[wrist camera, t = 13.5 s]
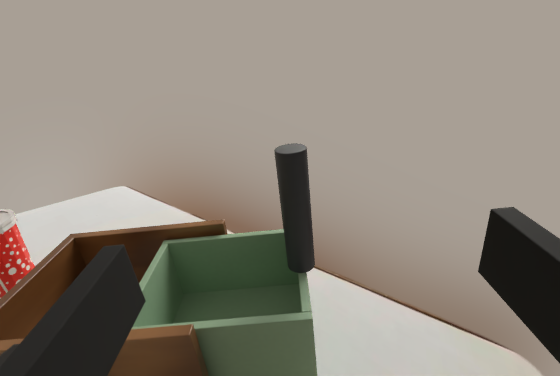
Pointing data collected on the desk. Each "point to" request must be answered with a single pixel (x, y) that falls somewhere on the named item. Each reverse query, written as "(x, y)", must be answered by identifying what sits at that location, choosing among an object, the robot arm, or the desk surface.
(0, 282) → the beverage cup
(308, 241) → the green open box
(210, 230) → the wooden drawer casing
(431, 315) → the desk surface
